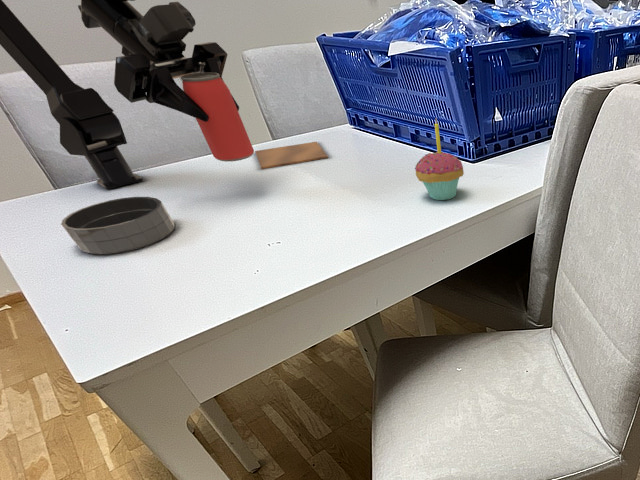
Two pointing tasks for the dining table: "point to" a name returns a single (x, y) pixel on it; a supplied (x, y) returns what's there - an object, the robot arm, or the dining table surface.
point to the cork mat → (290, 155)
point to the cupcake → (439, 172)
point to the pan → (119, 225)
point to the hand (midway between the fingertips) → (223, 114)
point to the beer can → (218, 116)
